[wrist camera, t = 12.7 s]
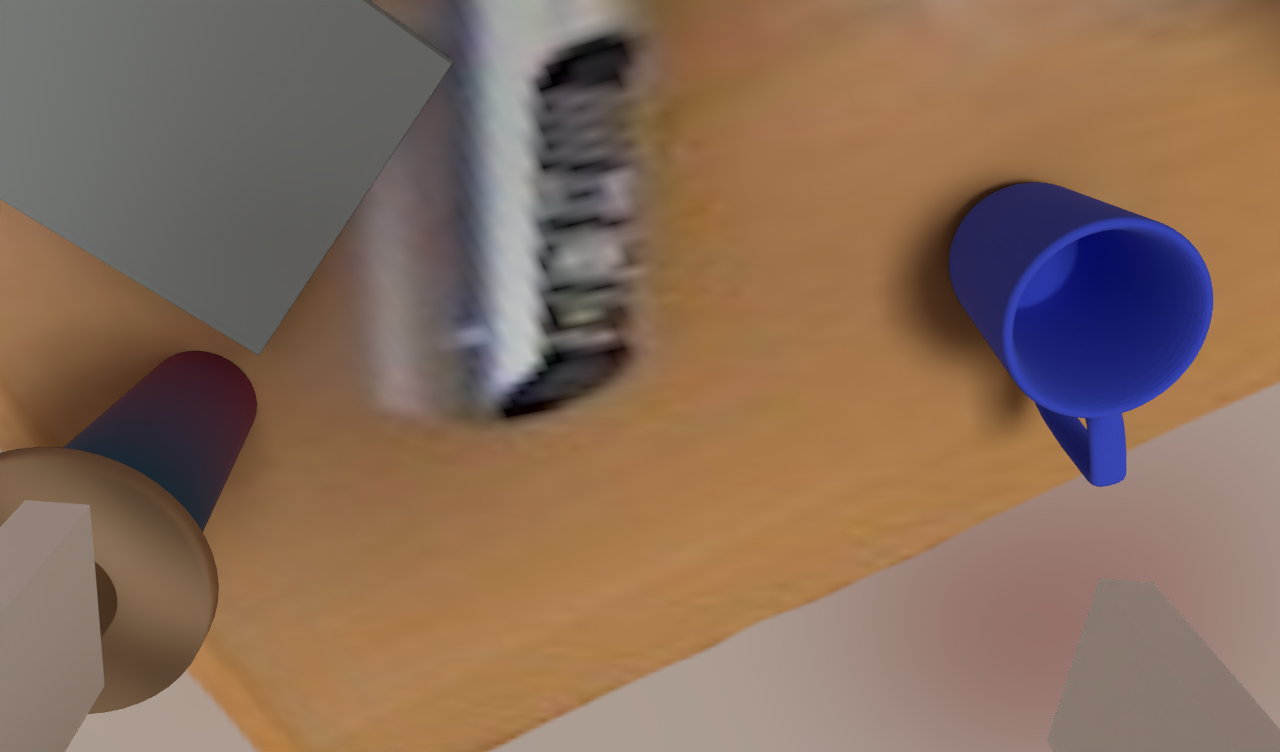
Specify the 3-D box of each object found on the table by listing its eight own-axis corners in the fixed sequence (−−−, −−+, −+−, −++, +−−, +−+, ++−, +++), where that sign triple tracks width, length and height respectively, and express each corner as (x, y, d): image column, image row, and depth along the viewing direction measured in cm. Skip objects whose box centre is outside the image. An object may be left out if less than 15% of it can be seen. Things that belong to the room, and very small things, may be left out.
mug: (947, 419, 55) (1023, 521, 46) (915, 185, 50) (993, 248, 41) (1111, 380, 55) (1220, 476, 45) (1094, 142, 50) (1212, 195, 41)
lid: (-5, 392, 36) (-183, 541, 27) (271, 545, 39) (186, 724, 30) (-130, 606, 39) (-327, 802, 30) (135, 734, 41) (22, 947, 33)
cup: (215, 306, 51) (81, 456, 37) (305, 422, 53) (211, 602, 39) (97, 377, 52) (-77, 548, 38) (190, 487, 54) (59, 685, 40)
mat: (101, -194, 43) (91, -196, 42) (453, 61, 47) (451, 64, 46) (-72, 143, 47) (-85, 148, 46) (264, 347, 52) (258, 355, 51)
